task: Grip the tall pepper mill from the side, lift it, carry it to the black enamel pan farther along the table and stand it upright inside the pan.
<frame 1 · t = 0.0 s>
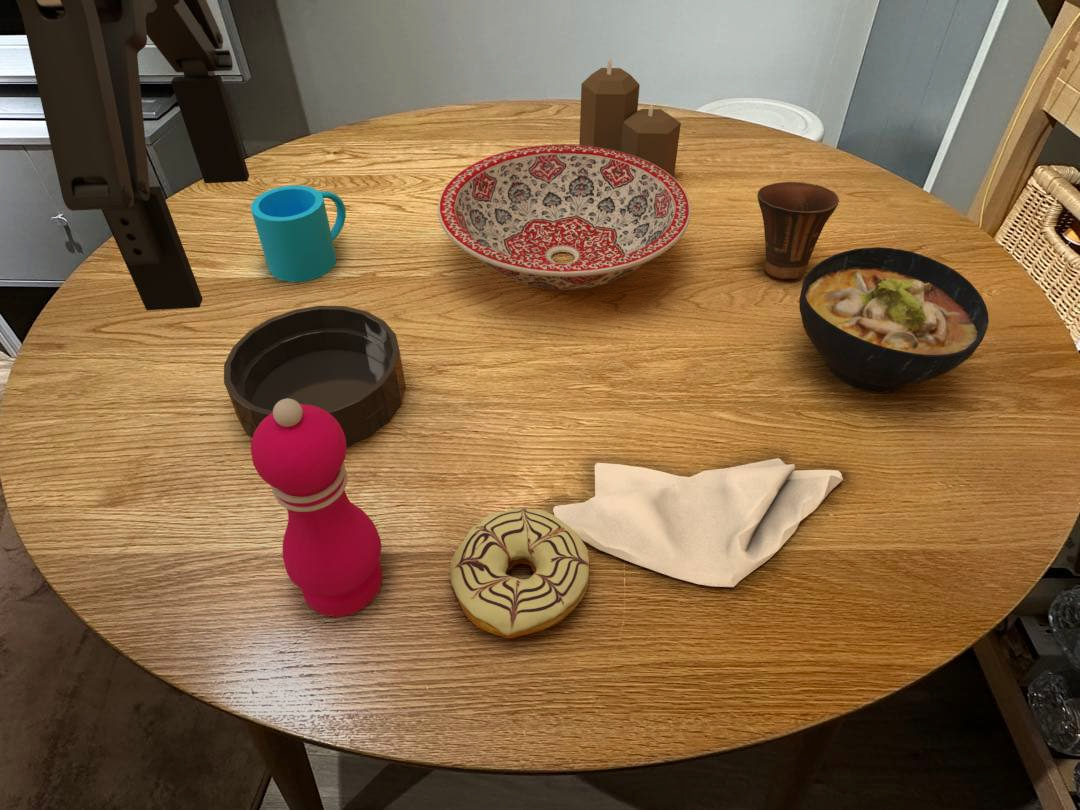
hand: (204, 236, 45), 29 cm above the table, tool pointing down, fingers open, 13 cm apart
ceramic bowl: (562, 260, 95), on the table
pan: (324, 398, 77), on the table
candle: (615, 174, 111), on the table
cup: (780, 267, 94), on the table
pepper mill: (343, 584, 62), on the table
decorated donut: (520, 585, 62), on the table
bowl: (867, 366, 80), on the table
mug: (314, 256, 96), on the table
cloth: (704, 521, 66), on the table
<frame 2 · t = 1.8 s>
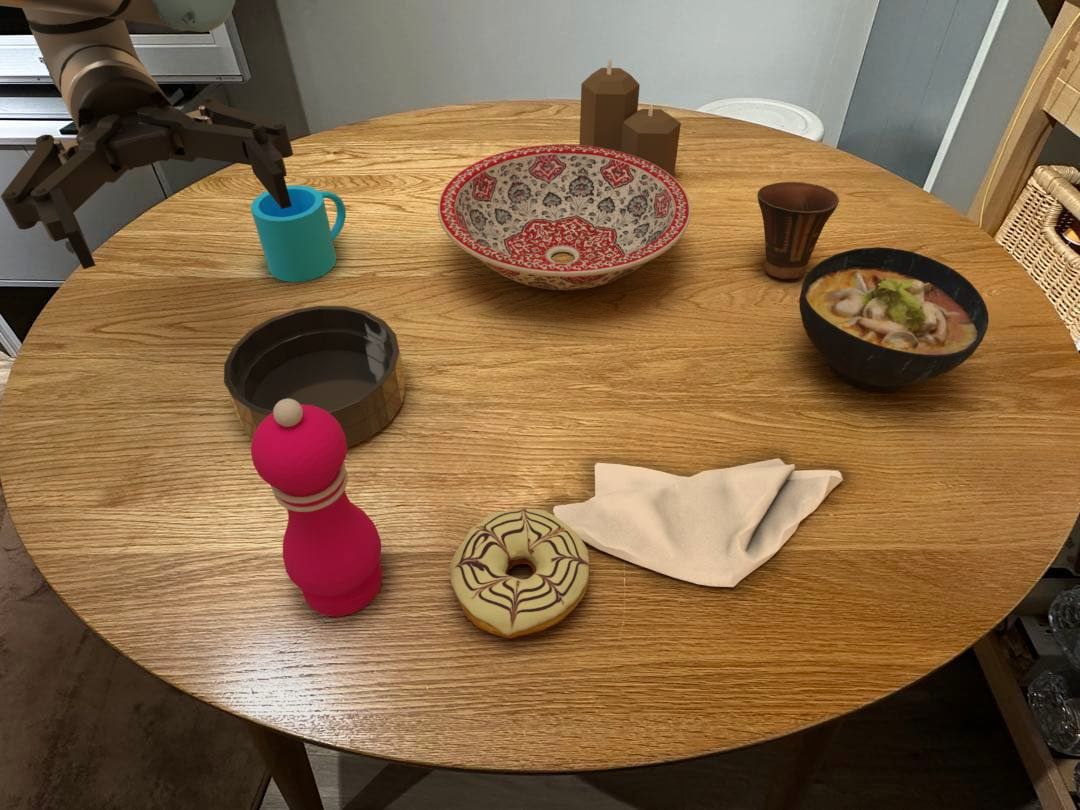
hand: (186, 219, 53), 25 cm above the table, tool horizontal, fingers open, 13 cm apart
nothing on the table moved.
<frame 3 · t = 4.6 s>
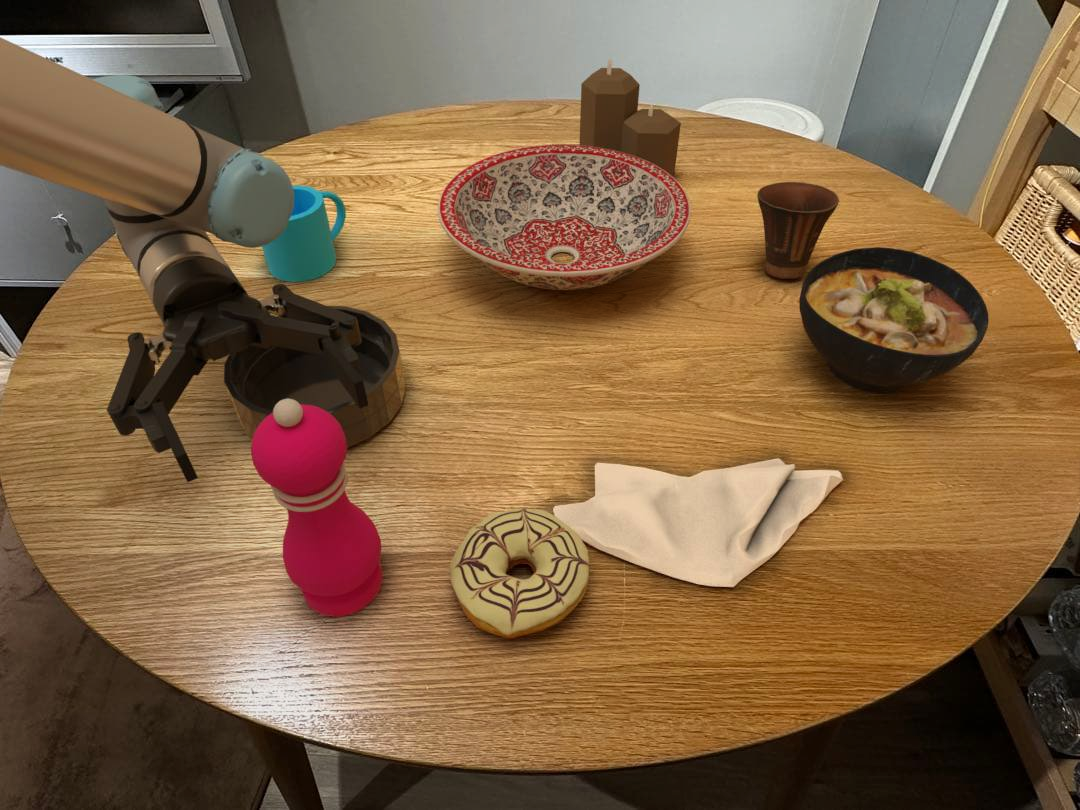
hand: (278, 430, 58), 11 cm above the table, tool horizontal, fingers open, 13 cm apart
nothing on the table moved.
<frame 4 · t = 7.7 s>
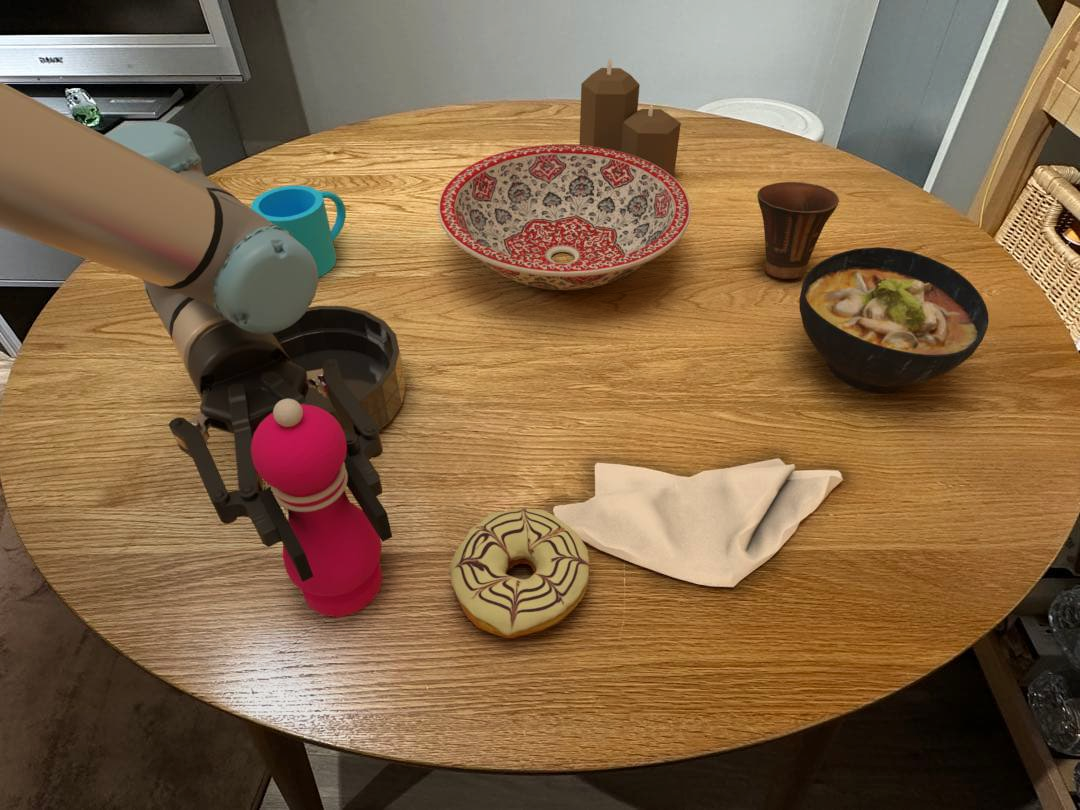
hand: (344, 546, 51), 11 cm above the table, tool horizontal, fingers closed on pepper mill, 5 cm apart
pepper mill: (343, 584, 62), on the table, touching gripper
everything else where it was.
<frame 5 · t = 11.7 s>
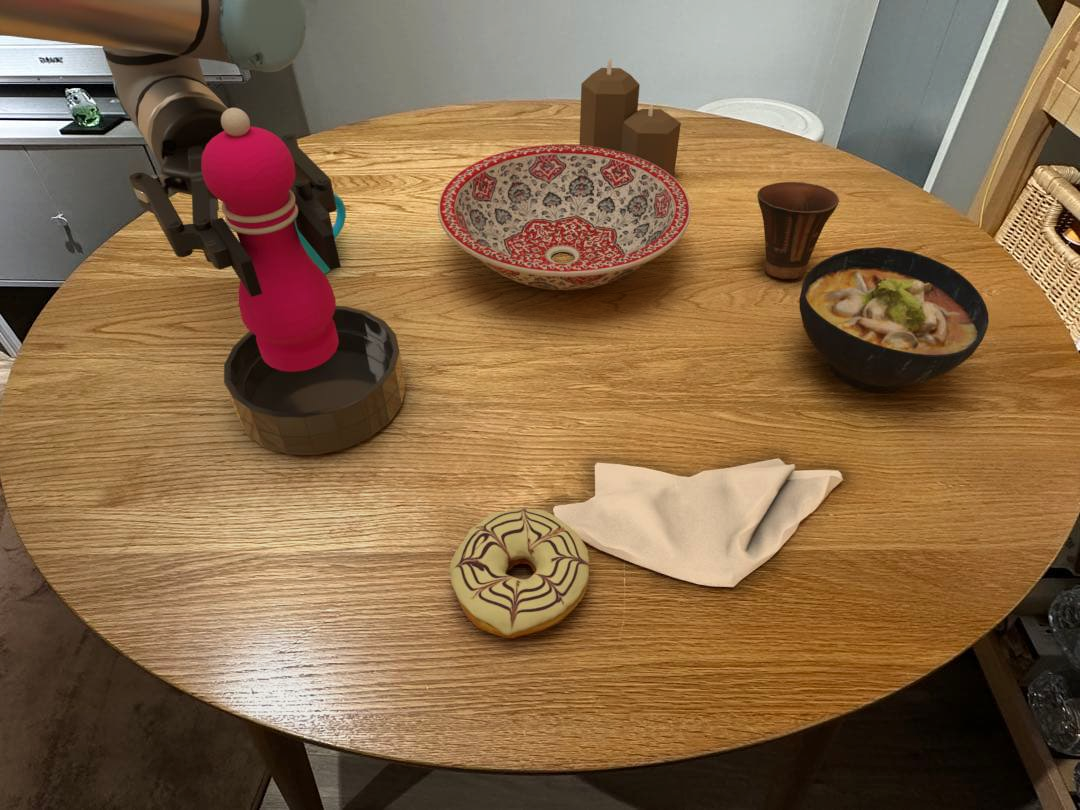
hand: (292, 265, 53), 23 cm above the table, tool horizontal, fingers closed on pepper mill, 5 cm apart
pepper mill: (301, 349, 64), point 12 cm above the table, touching gripper
everything else where it was.
when the fingers open (12 cm above the table, at t = 16.0 s): pepper mill stays where it is, resting on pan.
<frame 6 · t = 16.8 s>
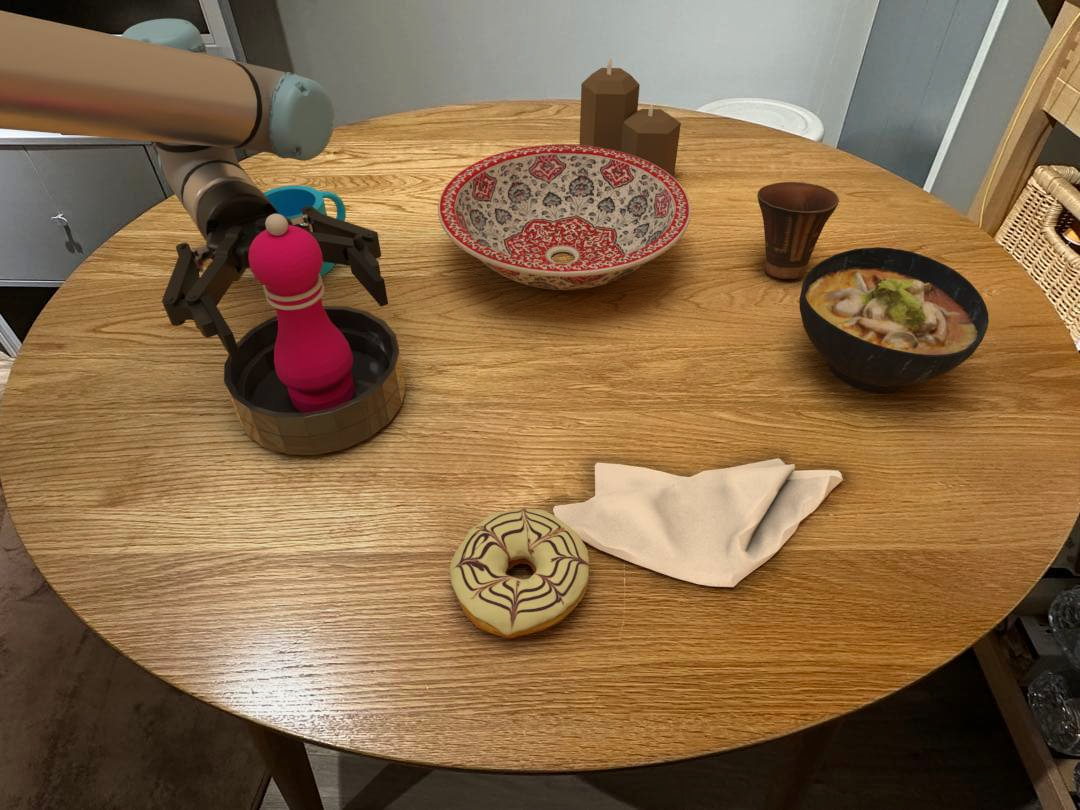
hand: (310, 319, 67), 12 cm above the table, tool horizontal, fingers open, 13 cm apart
pepper mill: (323, 395, 77), resting on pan
everything else where it was.
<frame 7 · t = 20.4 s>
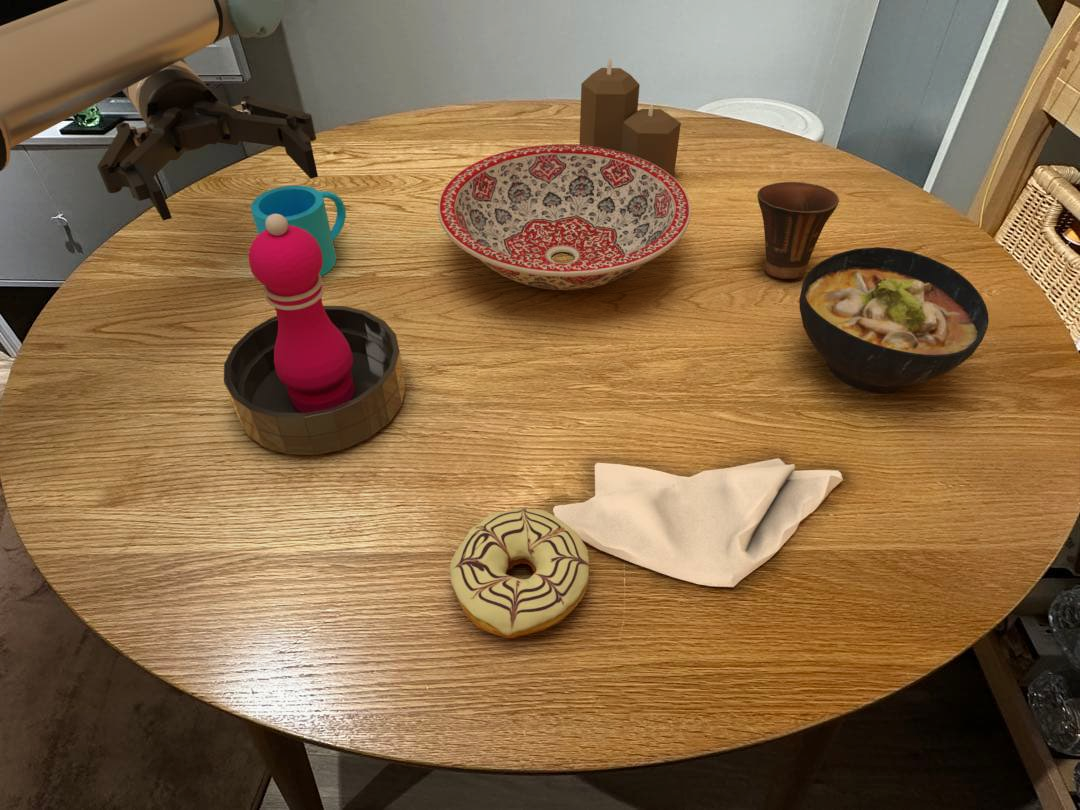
hand: (240, 184, 69), 19 cm above the table, tool horizontal, fingers open, 13 cm apart
nothing on the table moved.
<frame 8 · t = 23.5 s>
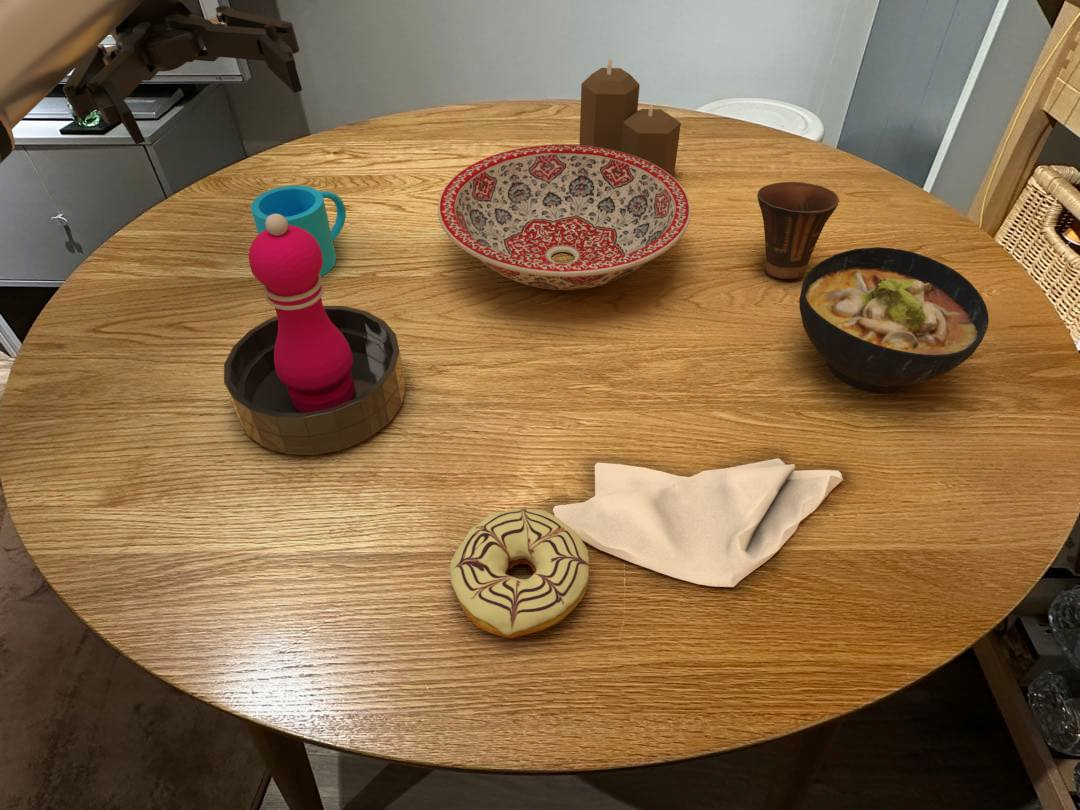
hand: (217, 101, 64), 27 cm above the table, tool horizontal, fingers open, 13 cm apart
nothing on the table moved.
at the end: pepper mill inside the target area in the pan (0.0 cm from its centre), point 0.4 cm above the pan's base; pepper mill tilted 0°; the gripper is holding nothing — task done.
